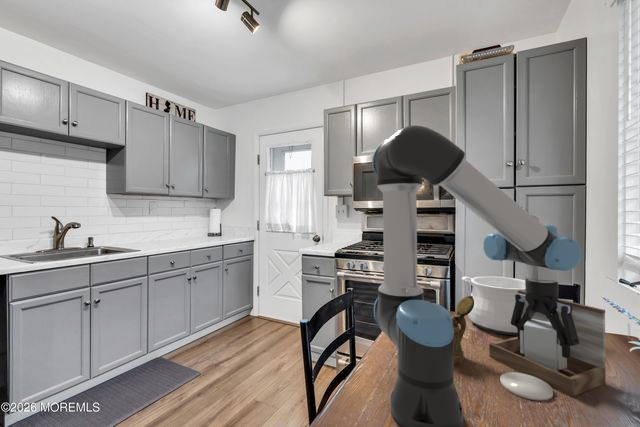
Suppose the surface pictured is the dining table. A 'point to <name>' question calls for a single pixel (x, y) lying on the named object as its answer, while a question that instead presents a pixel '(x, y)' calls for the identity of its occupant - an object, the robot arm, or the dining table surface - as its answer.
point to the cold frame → (583, 356)
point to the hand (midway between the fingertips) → (542, 359)
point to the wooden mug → (462, 310)
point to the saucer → (526, 386)
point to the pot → (494, 303)
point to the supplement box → (541, 343)
